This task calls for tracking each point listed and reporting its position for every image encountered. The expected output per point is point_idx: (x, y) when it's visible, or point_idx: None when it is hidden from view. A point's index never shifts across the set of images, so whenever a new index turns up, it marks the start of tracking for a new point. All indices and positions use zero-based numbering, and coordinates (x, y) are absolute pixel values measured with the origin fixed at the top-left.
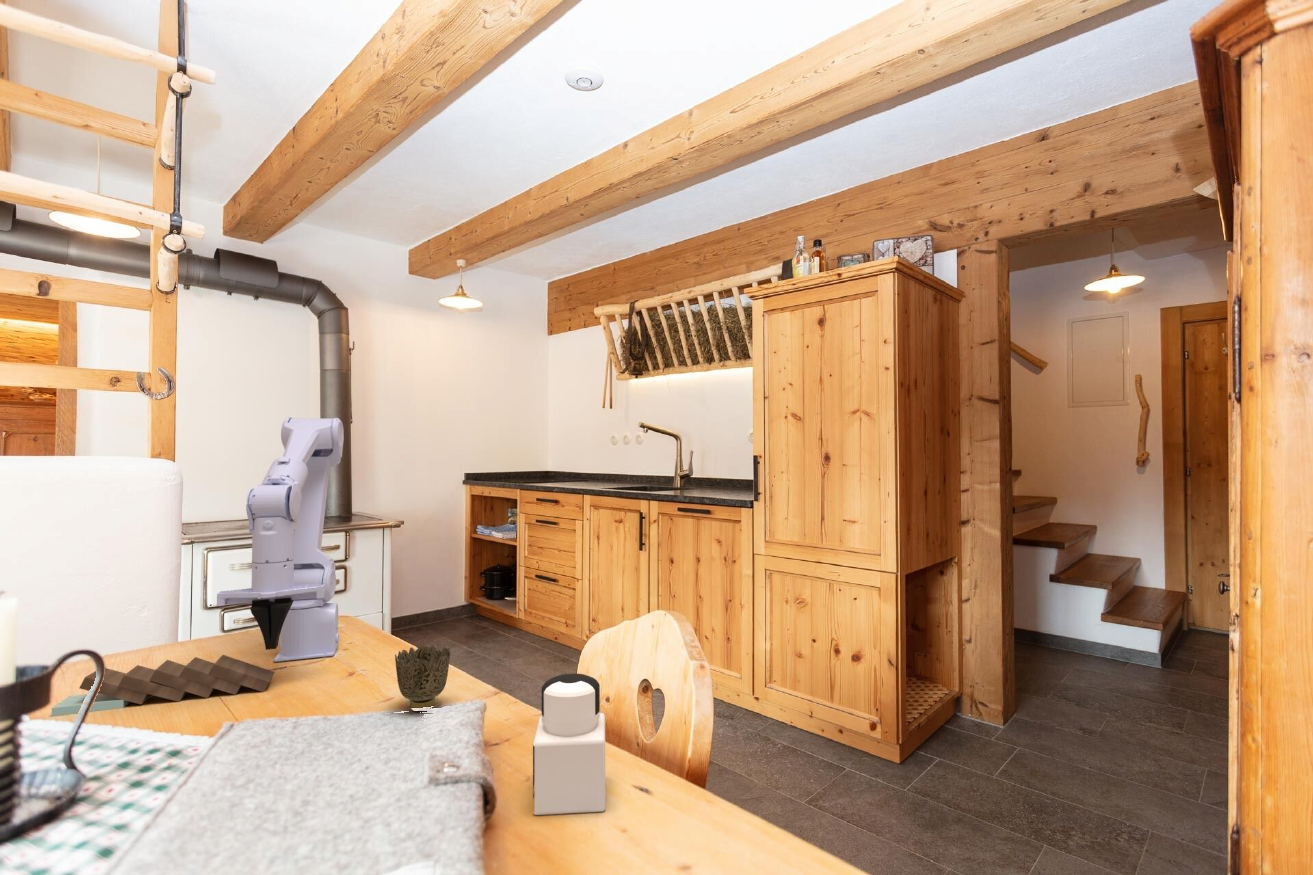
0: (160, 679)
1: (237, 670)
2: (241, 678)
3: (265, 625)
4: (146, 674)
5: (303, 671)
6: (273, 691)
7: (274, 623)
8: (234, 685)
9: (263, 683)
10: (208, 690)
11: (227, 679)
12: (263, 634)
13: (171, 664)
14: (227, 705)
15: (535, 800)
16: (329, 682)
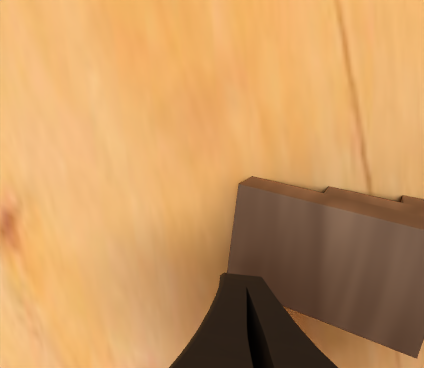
0: None
1: (351, 224)
2: (328, 199)
3: (291, 354)
4: None
5: (153, 316)
6: (223, 165)
7: (230, 357)
8: (342, 195)
9: (254, 183)
10: (413, 203)
11: (373, 206)
12: (289, 318)
13: None
14: (350, 90)
15: None
16: (63, 173)
